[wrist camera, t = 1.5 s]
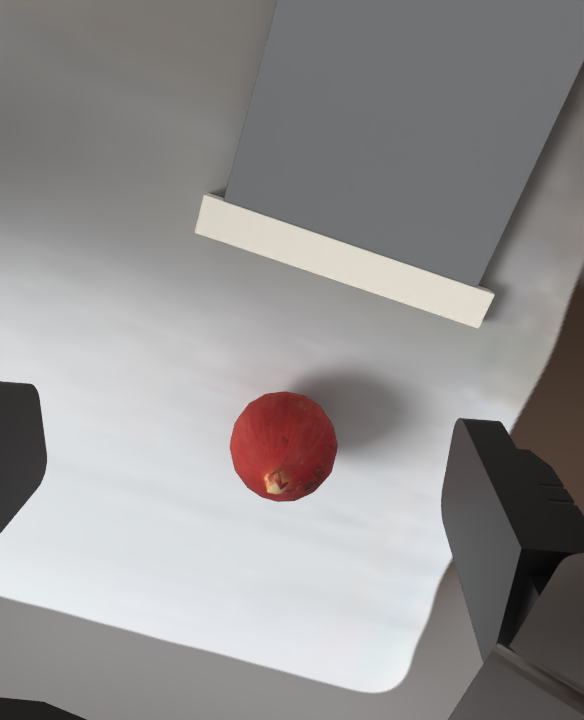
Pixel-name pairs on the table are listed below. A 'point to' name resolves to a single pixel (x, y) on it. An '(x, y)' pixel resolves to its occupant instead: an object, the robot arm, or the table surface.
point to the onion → (283, 446)
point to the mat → (397, 140)
